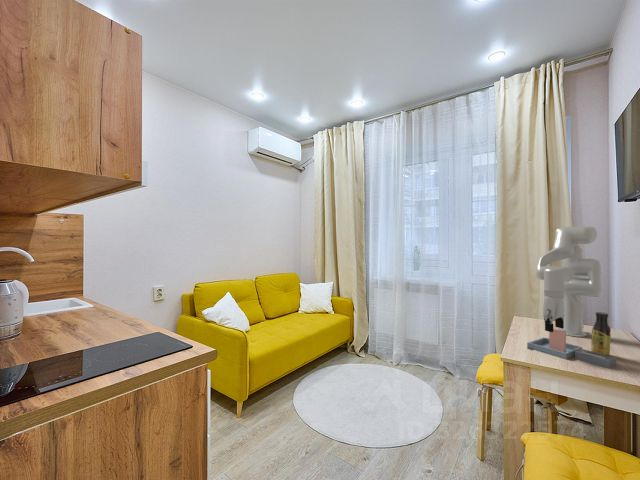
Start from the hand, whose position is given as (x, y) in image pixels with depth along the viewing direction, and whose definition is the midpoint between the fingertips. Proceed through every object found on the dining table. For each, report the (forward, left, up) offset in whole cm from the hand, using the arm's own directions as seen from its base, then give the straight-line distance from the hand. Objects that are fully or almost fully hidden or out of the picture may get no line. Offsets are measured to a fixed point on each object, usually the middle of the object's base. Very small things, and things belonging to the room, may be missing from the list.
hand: (554, 329), depth 140 cm
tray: (+1, 0, -10) cm, 10 cm away
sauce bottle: (-11, +13, -10) cm, 20 cm away
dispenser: (+1, +15, -10) cm, 18 cm away
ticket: (+1, +2, -9) cm, 10 cm away
